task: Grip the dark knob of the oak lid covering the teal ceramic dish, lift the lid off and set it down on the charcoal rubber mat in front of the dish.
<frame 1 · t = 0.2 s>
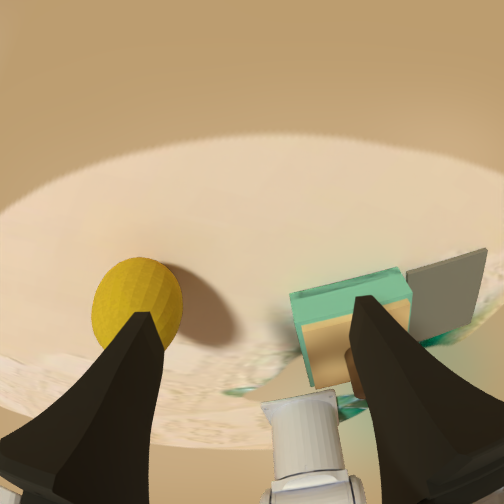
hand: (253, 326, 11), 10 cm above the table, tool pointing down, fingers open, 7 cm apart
lid: (357, 346, 23), point 3 cm above the table, touching dish
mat: (443, 299, 25), on the table
dish: (348, 319, 25), on the table
lemon: (152, 267, 22), on the table
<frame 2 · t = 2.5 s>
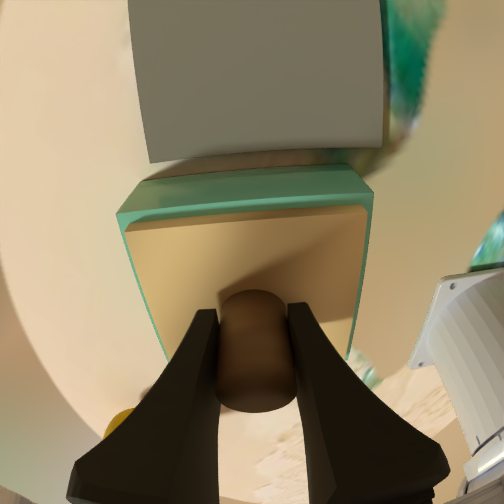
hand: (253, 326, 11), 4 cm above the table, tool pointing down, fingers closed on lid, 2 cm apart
lid: (253, 303, 12), point 3 cm above the table, touching dish, gripper
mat: (259, 45, 10), on the table
dish: (251, 258, 15), on the table
when the fingers open (3 cm above the table, at t = 5.9 s): lid drops 1 cm, resting on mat.
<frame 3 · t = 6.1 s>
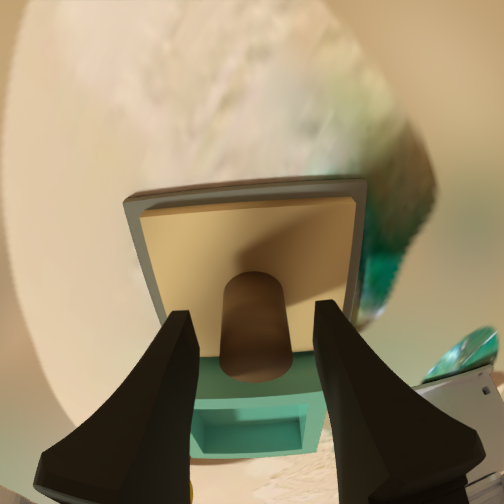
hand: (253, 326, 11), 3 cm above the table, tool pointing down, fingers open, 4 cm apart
lid: (253, 285, 13), resting on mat
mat: (251, 274, 14), on the table
dish: (247, 391, 19), on the table
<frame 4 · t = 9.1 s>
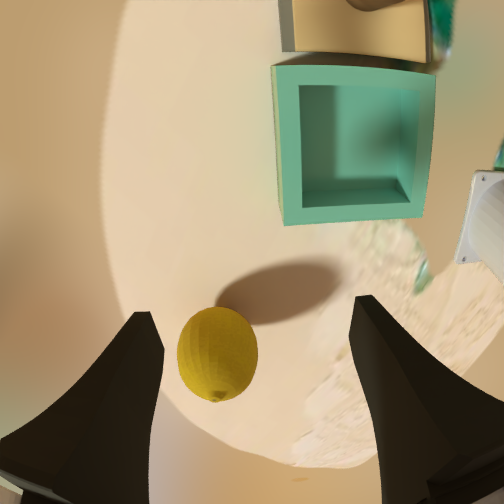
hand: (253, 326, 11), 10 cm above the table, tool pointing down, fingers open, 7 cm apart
dish: (345, 134, 17), on the table
lemon: (220, 310, 25), on the table
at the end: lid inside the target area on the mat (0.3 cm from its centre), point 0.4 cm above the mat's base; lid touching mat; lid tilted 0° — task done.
